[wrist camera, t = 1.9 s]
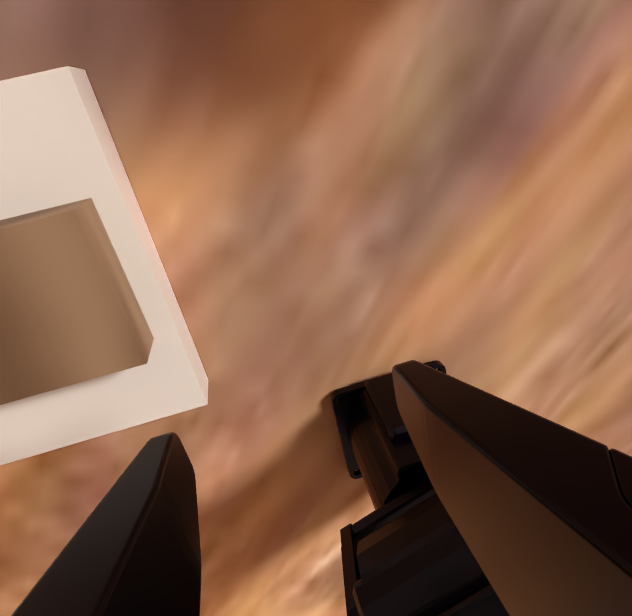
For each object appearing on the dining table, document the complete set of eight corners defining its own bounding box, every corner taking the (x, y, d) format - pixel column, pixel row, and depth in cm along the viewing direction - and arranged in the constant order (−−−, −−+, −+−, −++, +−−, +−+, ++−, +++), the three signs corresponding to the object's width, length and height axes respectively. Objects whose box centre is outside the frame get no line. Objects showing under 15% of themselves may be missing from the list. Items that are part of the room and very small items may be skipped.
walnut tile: (91, 197, 16) (75, 210, 14) (154, 338, 18) (147, 363, 17) (-145, 256, 15) (-193, 277, 13) (-43, 393, 18) (-72, 425, 16)
